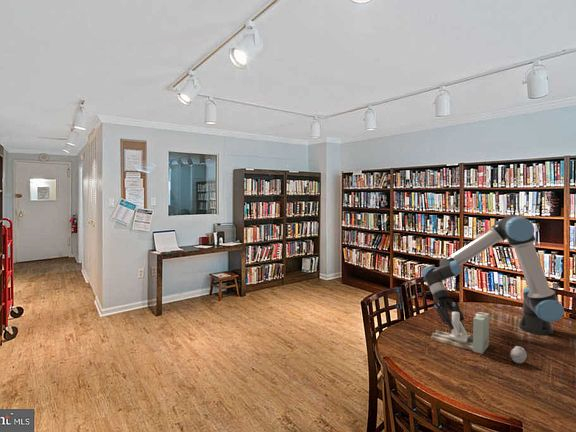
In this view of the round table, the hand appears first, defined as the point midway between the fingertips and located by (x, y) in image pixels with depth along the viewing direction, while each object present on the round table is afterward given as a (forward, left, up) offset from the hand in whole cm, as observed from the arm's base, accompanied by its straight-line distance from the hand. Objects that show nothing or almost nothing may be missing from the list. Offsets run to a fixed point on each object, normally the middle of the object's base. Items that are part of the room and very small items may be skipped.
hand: (460, 334), depth 170 cm
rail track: (+4, -2, -5) cm, 7 cm away
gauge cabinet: (-8, -2, -5) cm, 10 cm away
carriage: (0, -2, -3) cm, 3 cm away
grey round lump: (-24, +3, -5) cm, 25 cm away
